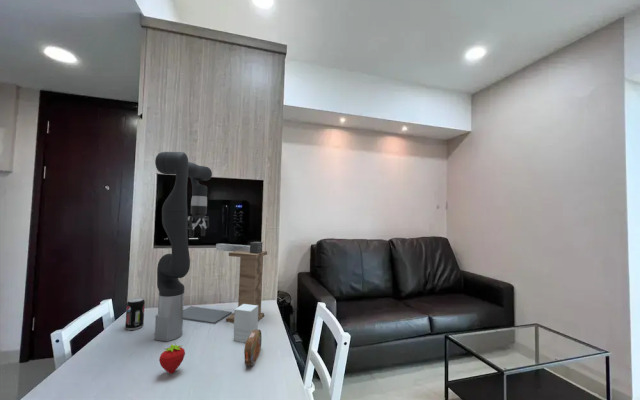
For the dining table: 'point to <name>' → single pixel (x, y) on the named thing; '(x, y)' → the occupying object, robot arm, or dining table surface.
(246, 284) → the walnut shelf stand
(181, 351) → the strawberry
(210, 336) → the dining table surface
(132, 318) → the beverage can
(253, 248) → the steel bar
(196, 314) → the charcoal mat
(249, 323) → the supplement box
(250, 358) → the tin
